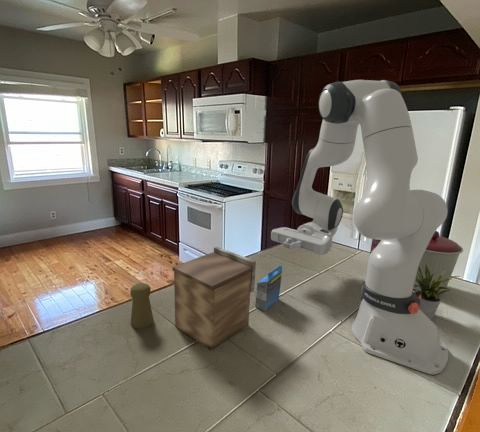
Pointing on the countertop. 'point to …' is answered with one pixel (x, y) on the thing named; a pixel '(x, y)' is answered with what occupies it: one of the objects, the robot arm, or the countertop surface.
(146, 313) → the cork
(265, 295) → the label tape box
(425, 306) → the house plant
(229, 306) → the storage box
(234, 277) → the sliding lid
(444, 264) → the canister
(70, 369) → the countertop surface
